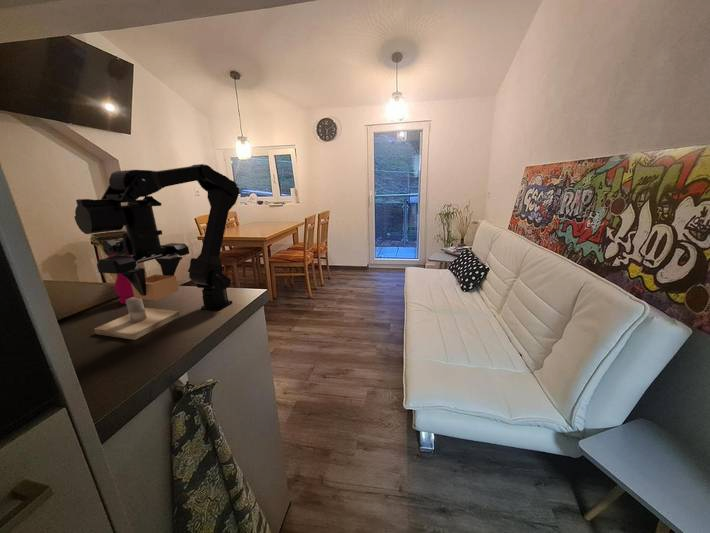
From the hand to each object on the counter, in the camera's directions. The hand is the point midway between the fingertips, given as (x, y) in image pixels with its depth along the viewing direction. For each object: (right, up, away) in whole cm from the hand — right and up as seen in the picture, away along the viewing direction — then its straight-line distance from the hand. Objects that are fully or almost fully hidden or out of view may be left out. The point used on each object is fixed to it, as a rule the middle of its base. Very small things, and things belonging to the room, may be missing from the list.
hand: (156, 290), depth 68 cm
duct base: (-9, -10, +6) cm, 15 cm away
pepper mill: (-25, -5, +24) cm, 35 cm away
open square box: (0, -1, 0) cm, 1 cm away
